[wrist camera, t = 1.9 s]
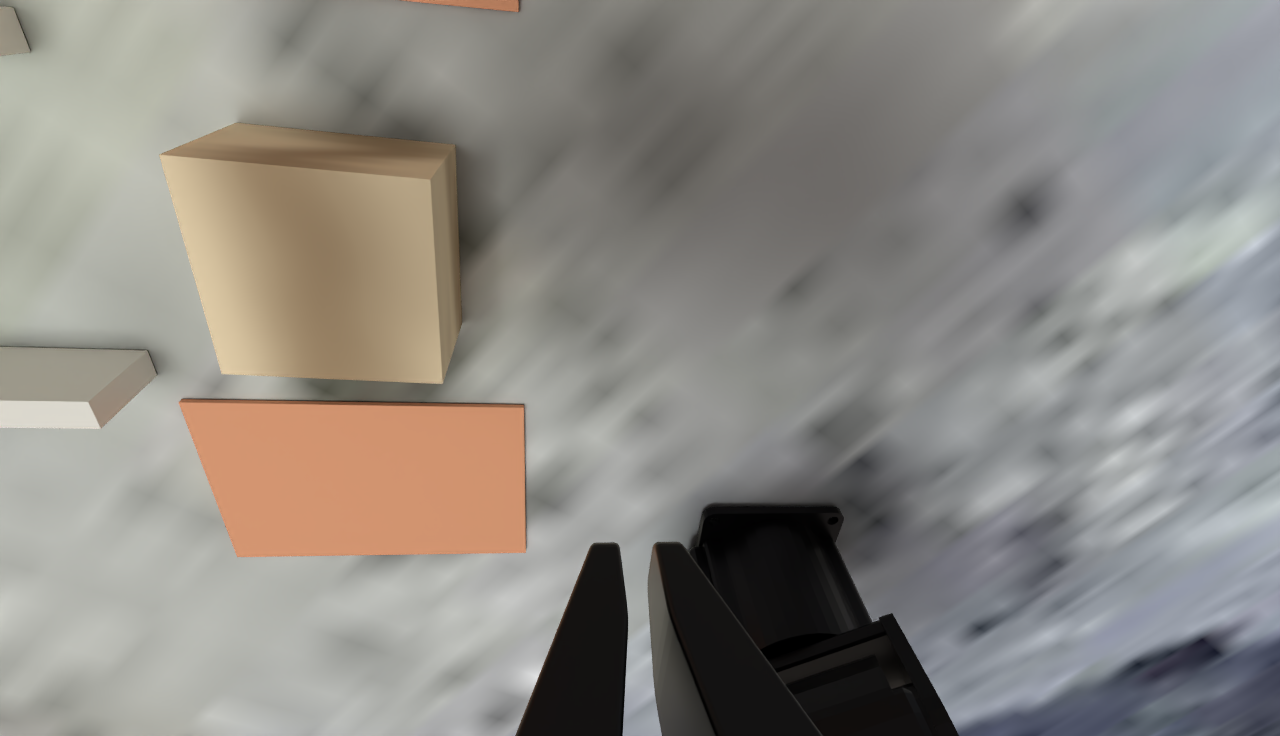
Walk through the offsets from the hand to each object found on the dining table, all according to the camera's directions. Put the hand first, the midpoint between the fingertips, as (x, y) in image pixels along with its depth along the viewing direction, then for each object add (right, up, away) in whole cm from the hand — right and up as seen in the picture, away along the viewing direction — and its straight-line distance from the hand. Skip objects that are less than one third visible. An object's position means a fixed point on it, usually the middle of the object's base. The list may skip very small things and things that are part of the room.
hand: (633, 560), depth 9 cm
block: (-9, +7, +10) cm, 15 cm away
